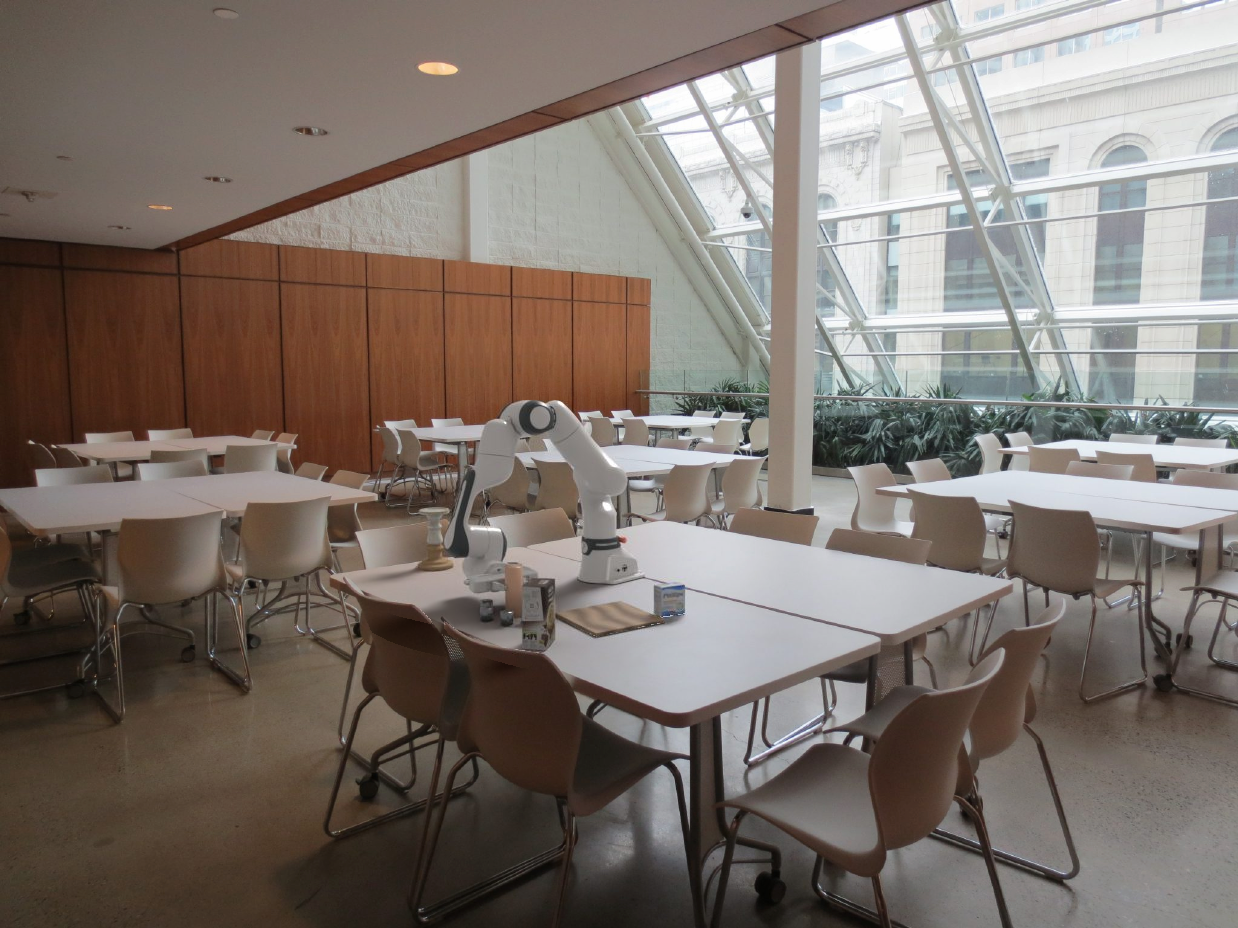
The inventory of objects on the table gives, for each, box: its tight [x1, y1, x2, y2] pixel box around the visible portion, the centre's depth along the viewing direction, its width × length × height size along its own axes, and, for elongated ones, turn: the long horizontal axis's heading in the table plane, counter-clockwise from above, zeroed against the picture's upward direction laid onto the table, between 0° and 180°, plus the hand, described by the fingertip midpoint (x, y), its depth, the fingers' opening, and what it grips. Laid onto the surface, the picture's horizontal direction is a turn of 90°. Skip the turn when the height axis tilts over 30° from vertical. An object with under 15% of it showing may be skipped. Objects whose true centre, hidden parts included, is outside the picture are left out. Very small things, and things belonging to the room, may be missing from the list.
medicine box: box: [653, 581, 686, 618], centre depth 239 cm, size 8×4×9 cm, turn 117°
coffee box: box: [521, 577, 556, 651], centre depth 213 cm, size 9×6×16 cm
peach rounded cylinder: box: [504, 564, 524, 619], centre depth 238 cm, size 5×5×14 cm
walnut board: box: [555, 600, 666, 637], centre depth 235 cm, size 22×22×1 cm
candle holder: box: [416, 506, 454, 572], centre depth 295 cm, size 12×12×20 cm
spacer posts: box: [479, 598, 515, 627], centre depth 238 cm, size 21×19×4 cm
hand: (515, 586), depth 237 cm, fingers closed on peach rounded cylinder, 5 cm apart
